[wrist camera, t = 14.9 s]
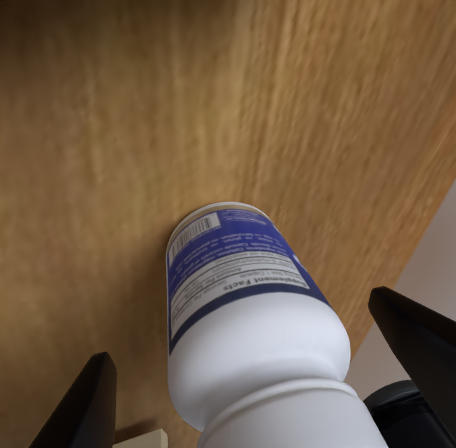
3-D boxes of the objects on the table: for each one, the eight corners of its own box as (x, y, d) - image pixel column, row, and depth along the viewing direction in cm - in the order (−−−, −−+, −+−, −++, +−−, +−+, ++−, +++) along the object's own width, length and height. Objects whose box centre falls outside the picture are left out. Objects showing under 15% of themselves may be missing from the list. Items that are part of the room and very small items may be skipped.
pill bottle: (273, 283, 15) (387, 515, 7) (173, 299, 14) (184, 580, 6) (280, 191, 12) (476, 409, 4) (157, 204, 11) (143, 497, 4)
